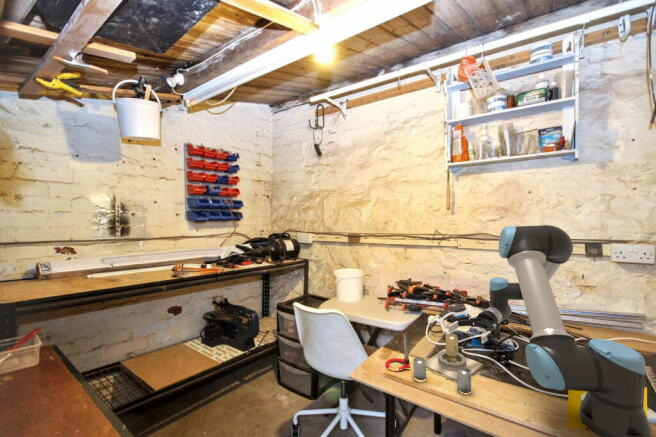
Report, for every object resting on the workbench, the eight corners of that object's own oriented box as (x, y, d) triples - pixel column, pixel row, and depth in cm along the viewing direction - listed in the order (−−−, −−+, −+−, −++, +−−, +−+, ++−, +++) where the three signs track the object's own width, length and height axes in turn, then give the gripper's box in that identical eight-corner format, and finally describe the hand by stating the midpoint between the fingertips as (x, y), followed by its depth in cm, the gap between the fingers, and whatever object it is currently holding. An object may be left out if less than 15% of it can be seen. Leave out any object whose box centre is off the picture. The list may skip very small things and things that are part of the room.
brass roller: (460, 363, 122) (460, 336, 121) (454, 368, 120) (454, 340, 119) (450, 359, 126) (449, 332, 125) (443, 363, 123) (443, 336, 122)
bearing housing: (482, 366, 122) (482, 357, 121) (461, 385, 112) (461, 375, 111) (444, 351, 134) (444, 343, 134) (421, 366, 124) (421, 357, 124)
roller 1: (428, 378, 116) (428, 360, 116) (421, 384, 113) (421, 365, 113) (418, 373, 120) (417, 356, 119) (411, 378, 117) (410, 360, 116)
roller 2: (473, 391, 108) (474, 372, 107) (465, 396, 106) (465, 376, 105) (462, 384, 112) (462, 365, 111) (454, 388, 110) (454, 369, 109)
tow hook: (387, 373, 122) (411, 371, 121) (384, 341, 121) (408, 339, 120) (384, 361, 130) (407, 359, 130) (381, 331, 129) (404, 329, 128)
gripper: (520, 335, 132) (497, 354, 119) (462, 318, 151) (437, 333, 138) (520, 318, 131) (497, 335, 118) (462, 303, 151) (436, 316, 137)
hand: (465, 334), depth 128 cm, fingers open, 13 cm apart
